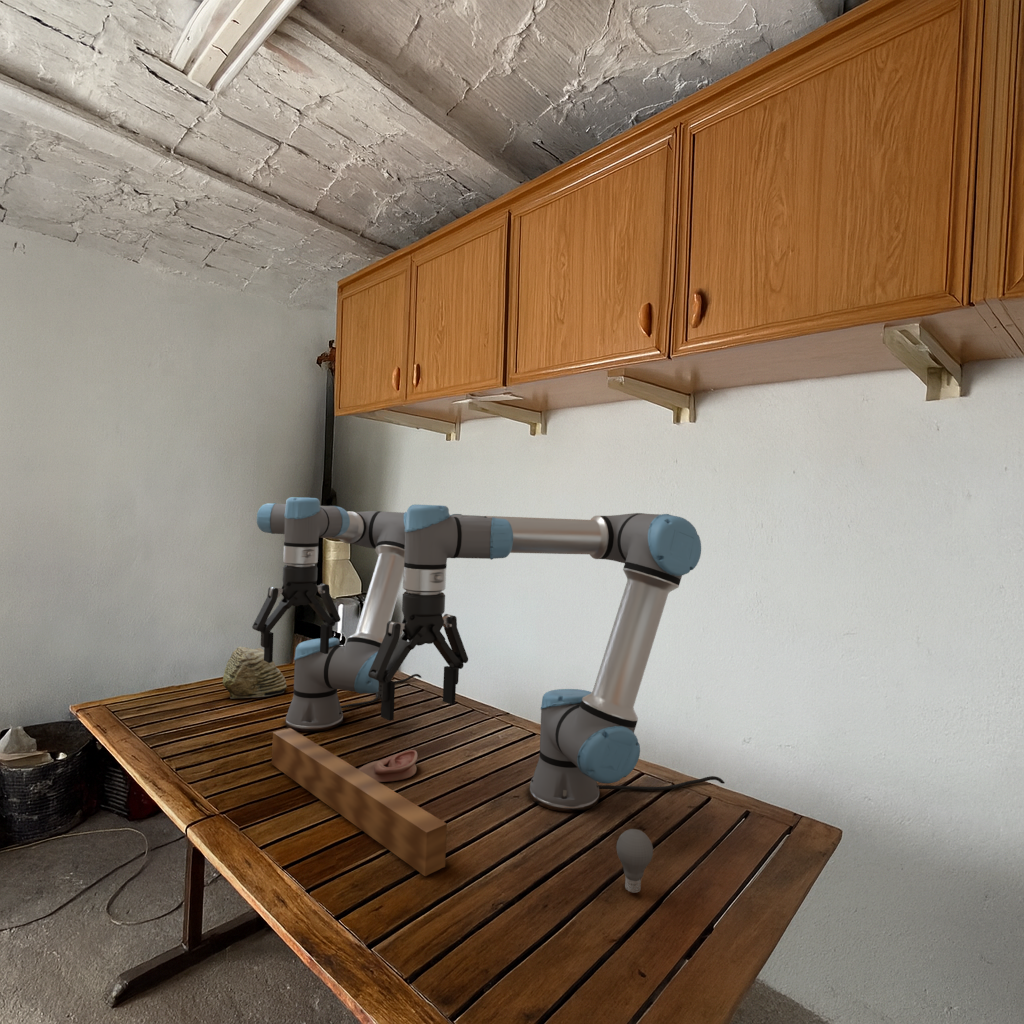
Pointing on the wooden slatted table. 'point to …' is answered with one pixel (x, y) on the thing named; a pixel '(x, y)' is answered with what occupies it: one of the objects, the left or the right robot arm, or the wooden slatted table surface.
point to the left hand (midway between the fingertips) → (297, 657)
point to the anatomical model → (392, 767)
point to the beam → (363, 801)
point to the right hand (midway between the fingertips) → (419, 710)
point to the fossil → (252, 675)
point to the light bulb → (634, 857)
